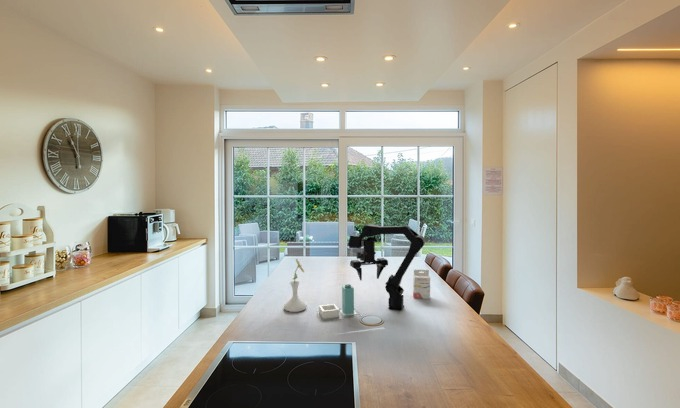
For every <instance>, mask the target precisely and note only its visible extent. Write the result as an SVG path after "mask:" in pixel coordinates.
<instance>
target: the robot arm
mask: <svg viewBox="0 0 680 408" xmlns="http://www.w3.org/2000/svg"><path fill="white" fill-rule="evenodd" d="M379 235H404V236H405V238H406V239H407V240H408V241H409V242H410V245H409V248H408V252H407V253H406V254H405V257H404V259H403V260H402V262H401V264H400V265H399V266H398V269H397V270H396V272H395V274H394V275H393V274H390V276H389V277H388V280H387V281H386V282H385V291H386V292H387V293H388V295H389V298H388V309H389V310H396V311H402V310H403V309H404V307H405V304H404V295H403V293H404V292H405V290H404V288H403V287H402V286H401V283H402V280H403V277H404V276H405V274H406V272H407V270H408V268H409V266H410V265H411V264H412V262H413V260H414V258H415V257H416V255H417V254H418V253H419V252H420V250H422V248H423V247H424V246H425V244H426V238H425V237H424V236H423V235H422V234H421V235H420V234H419V233H417V232H416V231H415V230H413V228H411V227H410V226H409V225H406V224H405V225H387V226H386V225H385V226H382V225H378V224H372V223H371V224H366V225H364V226H363V227H362V229H361V233H360V234H359V235H355V234H351V235H349V239H348V242H347V243H348V248H349V249H358V250H361V249H363V250H362V253H361V252H360V251H359V252H356V259H354V260H353V259H351V260H350V263H349V265H350V267H352V268H353V269H354V270H356V273H357V276H358V278H359V281H362V277H363V275H362V274H363V272H362V266H368V265H376V279H377V280H379V278H380V276H381V274H382V272H383V270H384V268H386V266H388V265H389V261H388V259H386V258H384V257H378V258H377V259H375V258H376V253H377V252H376V250H375V249H376V248H375V246H376V245H375V243H376V242H379V240H380V239H379V238H378V237H377V236H379Z"/></svg>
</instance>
